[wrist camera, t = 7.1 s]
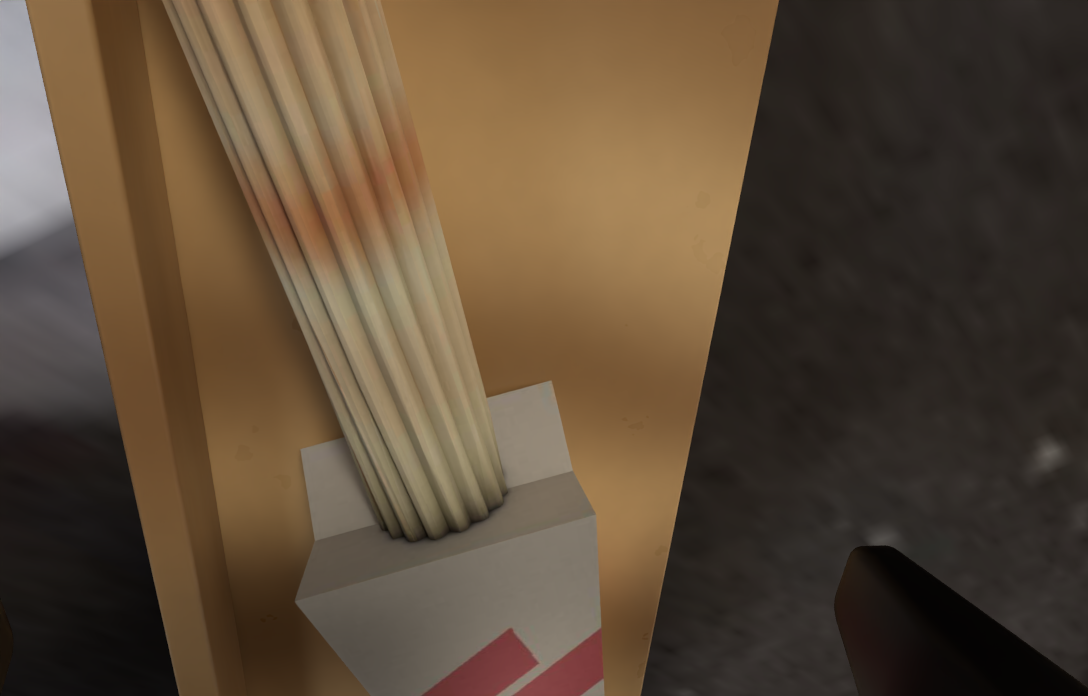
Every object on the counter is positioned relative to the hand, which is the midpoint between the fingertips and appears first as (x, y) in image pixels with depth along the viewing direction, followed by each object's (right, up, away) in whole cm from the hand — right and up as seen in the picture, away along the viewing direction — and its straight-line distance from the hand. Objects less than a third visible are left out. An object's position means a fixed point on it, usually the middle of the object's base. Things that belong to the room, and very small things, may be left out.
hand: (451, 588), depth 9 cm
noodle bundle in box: (-1, +2, +4) cm, 4 cm away
